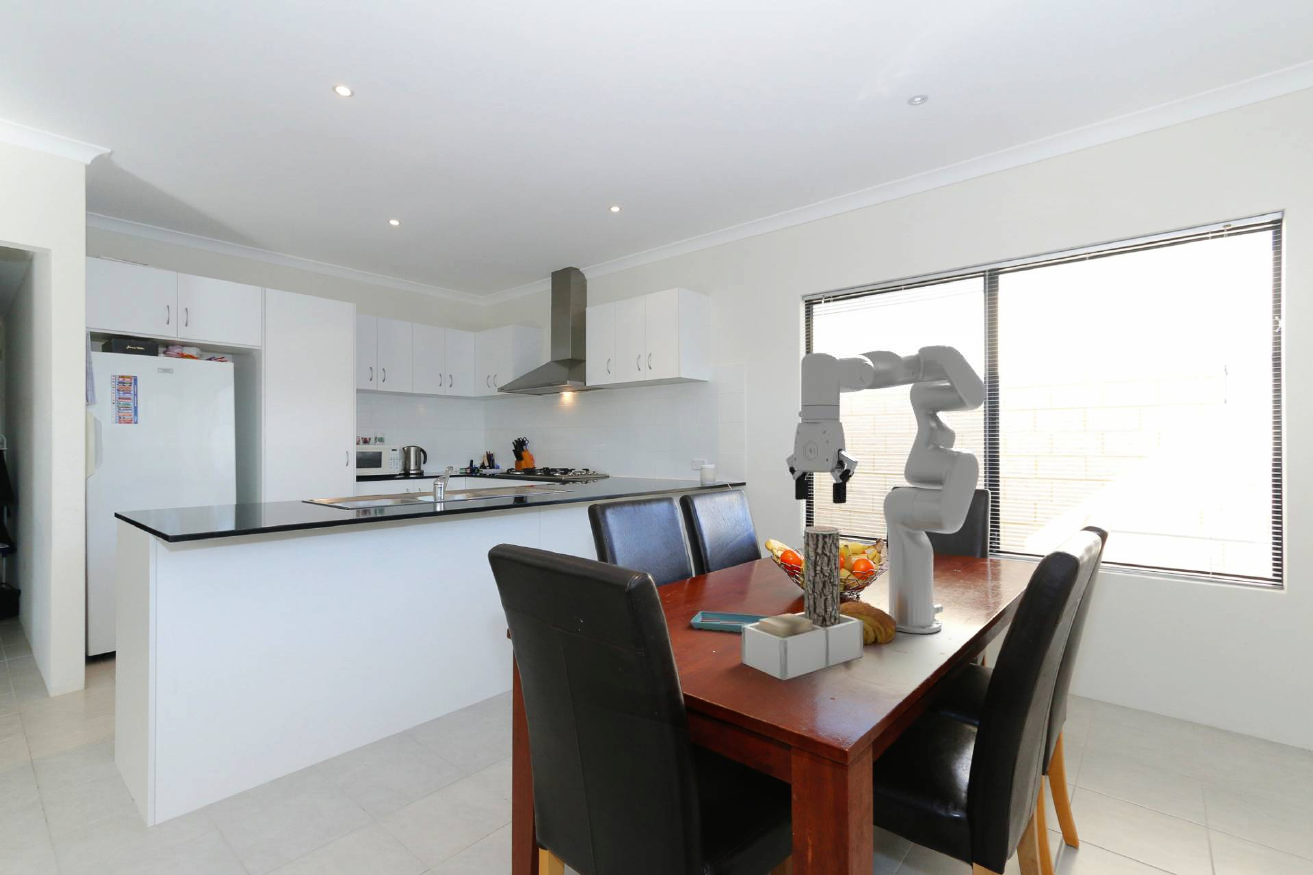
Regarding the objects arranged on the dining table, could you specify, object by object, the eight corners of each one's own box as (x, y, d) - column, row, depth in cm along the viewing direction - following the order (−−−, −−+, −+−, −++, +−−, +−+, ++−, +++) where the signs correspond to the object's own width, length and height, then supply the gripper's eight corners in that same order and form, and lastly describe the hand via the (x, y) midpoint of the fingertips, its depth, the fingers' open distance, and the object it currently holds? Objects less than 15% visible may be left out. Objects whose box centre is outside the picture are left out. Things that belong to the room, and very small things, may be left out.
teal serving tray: (689, 630, 143) (689, 619, 143) (700, 619, 151) (699, 609, 151) (807, 641, 134) (807, 630, 134) (811, 629, 143) (811, 618, 143)
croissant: (819, 650, 134) (817, 614, 134) (838, 621, 148) (836, 588, 147) (890, 660, 127) (888, 622, 126) (903, 629, 140) (901, 594, 139)
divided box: (819, 641, 133) (819, 608, 133) (863, 655, 124) (862, 620, 124) (741, 662, 121) (741, 625, 121) (783, 680, 112) (783, 640, 112)
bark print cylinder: (798, 651, 127) (797, 527, 127) (824, 646, 130) (823, 525, 130) (820, 661, 121) (819, 531, 121) (847, 656, 124) (846, 529, 124)
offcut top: (789, 628, 124) (789, 613, 124) (812, 636, 119) (812, 620, 119) (759, 635, 120) (758, 619, 120) (781, 643, 115) (781, 627, 115)
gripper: (775, 416, 130) (775, 498, 130) (842, 413, 116) (842, 505, 116) (800, 417, 135) (800, 497, 134) (868, 414, 120) (868, 503, 120)
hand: (820, 501), depth 125 cm, fingers open, 9 cm apart
